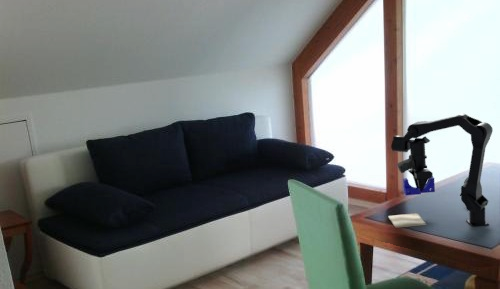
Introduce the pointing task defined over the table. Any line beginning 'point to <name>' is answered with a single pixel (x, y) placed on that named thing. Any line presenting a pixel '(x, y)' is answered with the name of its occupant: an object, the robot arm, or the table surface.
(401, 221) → the pad
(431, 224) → the table surface
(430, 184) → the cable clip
